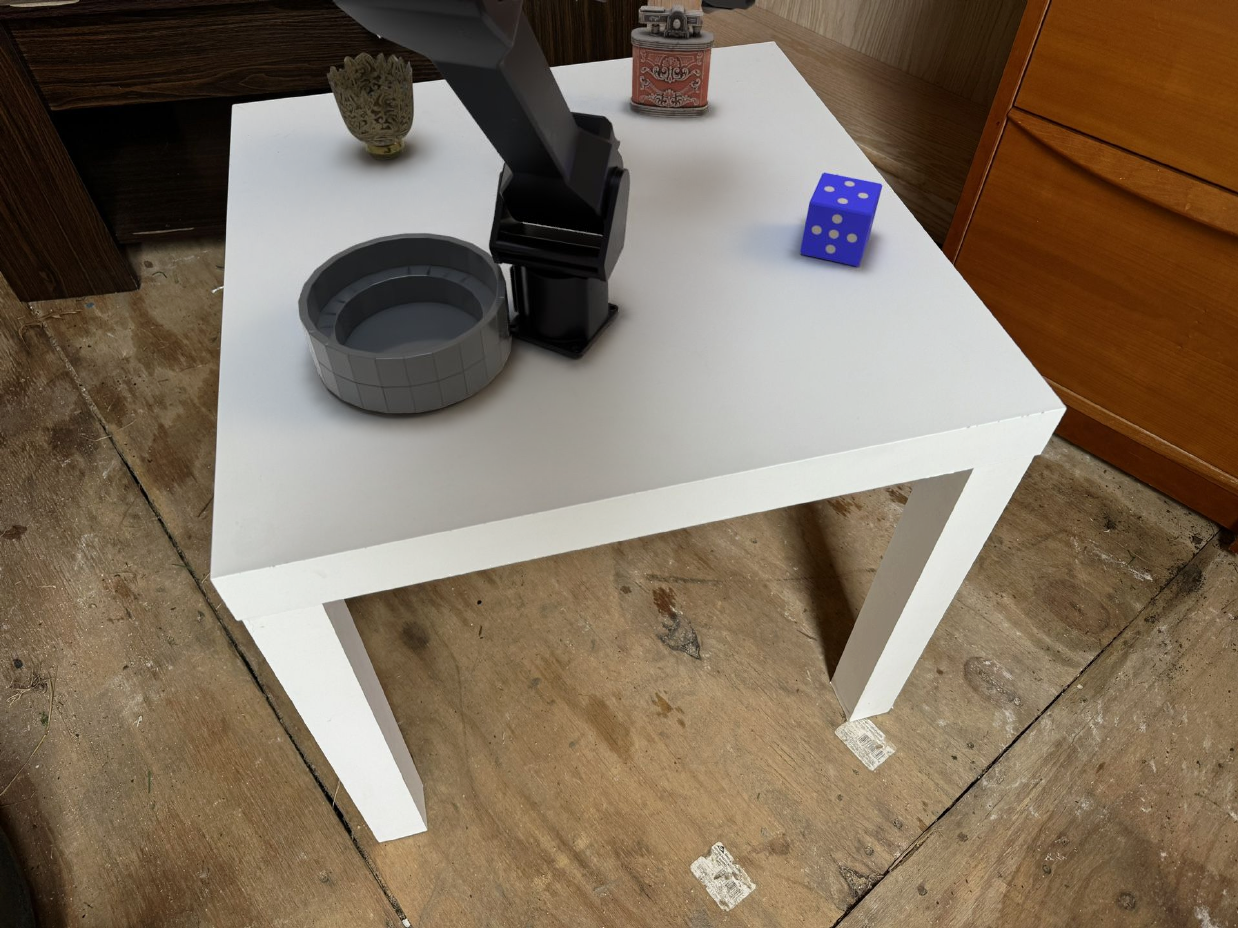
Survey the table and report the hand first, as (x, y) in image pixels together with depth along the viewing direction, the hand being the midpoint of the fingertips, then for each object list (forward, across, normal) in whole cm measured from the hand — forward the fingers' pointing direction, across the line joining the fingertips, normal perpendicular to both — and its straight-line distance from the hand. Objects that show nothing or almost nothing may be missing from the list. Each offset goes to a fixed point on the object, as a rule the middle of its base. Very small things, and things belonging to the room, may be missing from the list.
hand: (656, 2), depth 76 cm
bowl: (-15, +10, +34) cm, 38 cm away
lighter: (+15, 0, +4) cm, 15 cm away
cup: (+3, +24, +16) cm, 29 cm away
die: (+1, -19, +18) cm, 26 cm away
